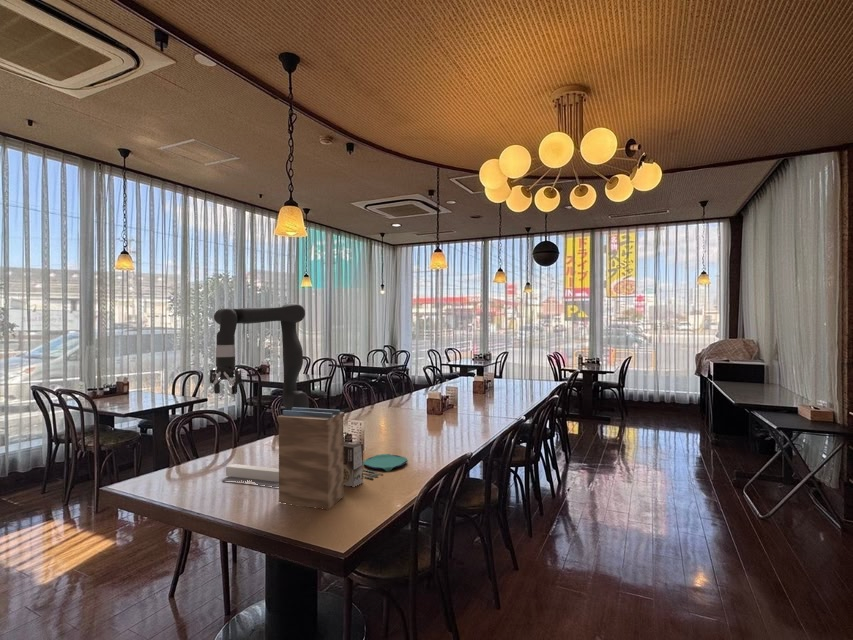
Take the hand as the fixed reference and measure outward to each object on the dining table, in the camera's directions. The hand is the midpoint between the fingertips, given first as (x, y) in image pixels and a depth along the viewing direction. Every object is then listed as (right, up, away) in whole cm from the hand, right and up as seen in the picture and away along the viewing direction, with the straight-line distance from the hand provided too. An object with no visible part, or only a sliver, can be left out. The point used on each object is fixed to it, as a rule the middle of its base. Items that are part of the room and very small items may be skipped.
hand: (225, 393), depth 189 cm
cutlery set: (+63, -37, +15) cm, 75 cm away
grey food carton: (+54, -36, -5) cm, 65 cm away
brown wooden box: (+42, -36, -23) cm, 60 cm away
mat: (+17, -36, -1) cm, 40 cm away
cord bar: (+12, -36, 0) cm, 38 cm away
